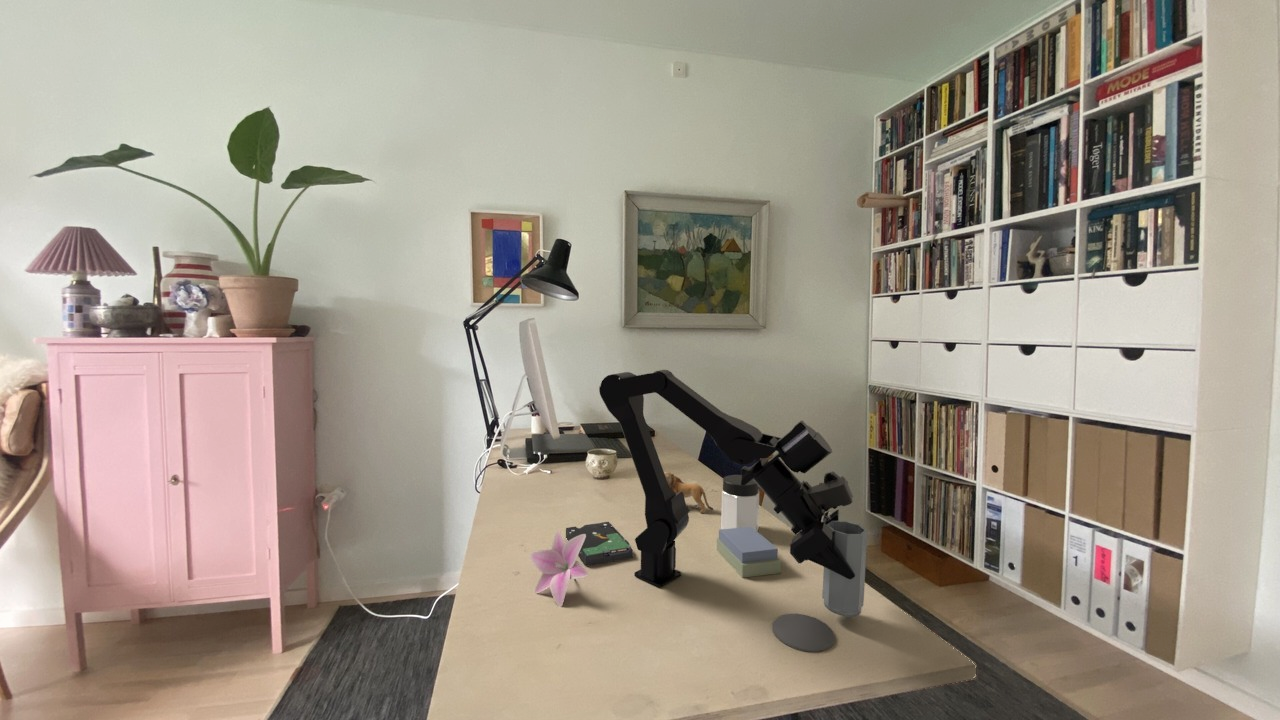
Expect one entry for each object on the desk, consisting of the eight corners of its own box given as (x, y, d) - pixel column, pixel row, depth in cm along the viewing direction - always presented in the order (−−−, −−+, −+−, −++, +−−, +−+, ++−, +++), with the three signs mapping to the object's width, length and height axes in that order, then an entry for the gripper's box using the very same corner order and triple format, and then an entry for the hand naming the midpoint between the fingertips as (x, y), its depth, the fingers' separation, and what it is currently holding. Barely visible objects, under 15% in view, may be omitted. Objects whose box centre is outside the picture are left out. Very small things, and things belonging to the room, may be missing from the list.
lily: (528, 580, 93) (512, 548, 88) (583, 546, 97) (571, 513, 92) (553, 631, 84) (537, 597, 79) (613, 590, 88) (601, 556, 83)
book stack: (780, 572, 95) (781, 550, 94) (742, 577, 93) (742, 554, 92) (751, 546, 106) (751, 526, 106) (716, 549, 104) (717, 529, 104)
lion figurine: (655, 508, 128) (655, 473, 128) (660, 501, 134) (661, 468, 133) (711, 515, 124) (712, 479, 123) (715, 508, 129) (715, 473, 128)
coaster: (819, 660, 70) (819, 657, 70) (761, 633, 76) (761, 630, 76) (843, 632, 76) (843, 629, 76) (788, 609, 82) (788, 607, 82)
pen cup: (854, 621, 76) (858, 538, 75) (817, 606, 80) (821, 527, 79) (866, 606, 80) (871, 527, 79) (831, 593, 84) (835, 517, 83)
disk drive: (564, 540, 110) (585, 569, 96) (564, 527, 110) (585, 555, 96) (608, 532, 114) (634, 559, 101) (608, 520, 114) (634, 546, 100)
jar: (766, 532, 114) (768, 481, 113) (744, 542, 108) (745, 488, 108) (736, 520, 120) (737, 472, 120) (713, 529, 115) (714, 478, 115)
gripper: (816, 475, 71) (899, 566, 67) (826, 448, 88) (893, 519, 84) (759, 519, 75) (834, 608, 71) (779, 484, 92) (841, 555, 88)
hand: (853, 568), depth 79 cm, fingers closed on pen cup, 6 cm apart
